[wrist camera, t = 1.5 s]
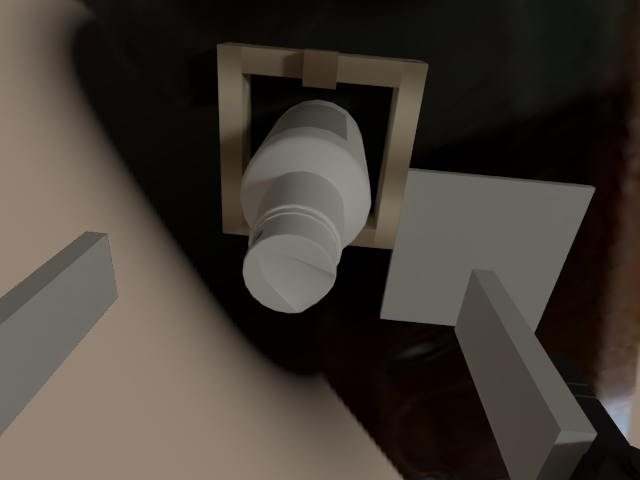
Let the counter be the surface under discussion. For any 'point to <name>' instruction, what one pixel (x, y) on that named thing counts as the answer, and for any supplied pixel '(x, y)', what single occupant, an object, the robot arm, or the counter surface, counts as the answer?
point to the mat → (479, 242)
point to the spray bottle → (303, 204)
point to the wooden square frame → (320, 73)
